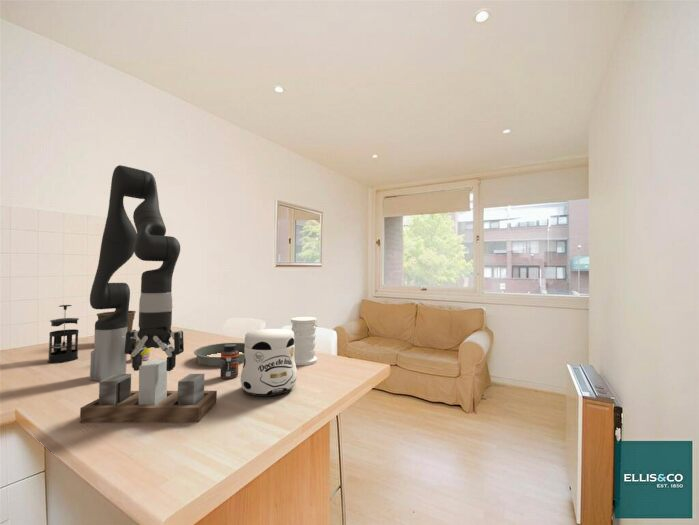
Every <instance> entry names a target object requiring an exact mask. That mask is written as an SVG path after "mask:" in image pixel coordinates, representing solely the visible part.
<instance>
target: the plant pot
mask: <svg viewBox="0 0 699 525" xmlns="http://www.w3.org/2000/svg"><path fill="white" fill-rule="evenodd" d="M114 311H115V310H114ZM114 311H103V312H99V313H96V316H97V320H99V319H102V318H105V317H107V316H109V315H111V314H112V313H113V312H114ZM136 313H137V311H136V310H129V312H128V323H127V332H129V331H132V330H133V326H134V325H133V324H134V320H135V315H136Z"/></svg>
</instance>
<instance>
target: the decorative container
mask: <svg viewBox="0 0 699 525" xmlns="http://www.w3.org/2000/svg"><path fill="white" fill-rule="evenodd" d="M317 322H318V319H317V317H315V316H314V317H313V316H297V317H296V316H295V317H291V318H290V323H292V326H291V331H293V332H294V345H295V348H294V360H295V364H296V366H298V365H306V366H310V365H309V364H312V365H314V364H313V363H315V362H316V363H317V362H318V357H317V356H316V355H315V354H316V344H317V342H316V337H317V336H316V331H317V330H316V329H317V328H316V327H317V326H316V323H317ZM316 363H315V364H316Z"/></svg>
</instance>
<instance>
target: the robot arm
mask: <svg viewBox="0 0 699 525" xmlns="http://www.w3.org/2000/svg"><path fill="white" fill-rule="evenodd" d="M110 182H111V183H110V192H109V200H108V201H109V203H108V209H107V215H106V220H105V224H104V229H103V233H102V236H101V237H102V239H101V243H100V250H99V257H98V264H97V267H96V268H97V269H96V272H95V275H94V279H93V283H92V287H91V290H90V293H89V294H90V295H89V303H90V307H91V308H92V309H94V310H114V312H113V311H112V312H113V313H112V314H111V315H109V316H107V317H105V318H102V319H99V320H98V319H97V320H96V321H95V323H94V344H93V350H92V351H91V352H90V363H89V364H90V367H89V368H90V370H89V379H90V380H93V381H96V382H99V381H102V380H104V379H106V378H108V377H110V376H113V375H115V374H127V355H129V356H130V357H131V356H132V361H131V362H132V363H131V368H132V369H133V371H134V372H136V371H137V372H139V366H141V365H143V361H142V355H141V353H142V352H143V351H144V349H145V348H150V349H151V348H154V349H161V351H163V352H164V353H165V355H167V357H166V360H167V368H166V370H167V372H171V371H172V370H174V369H175V368H176V366H177V365H176V361H177V358H176V357H177V356H179V355H180V354H182V353H184V350H185V349H184V348H185V346H184V331H183V330H179V331H172V325H173V324H172V320H173V319H172V318H173V296H172V295H173V294H172V286H173V276H174V275H173V274H174V271H175V267H176V264H177V262H178V260H179V259H178V258H179V257H180V253H181V243H180V242H179V240H178V239H177V238H176V237H174V236H170V235H166V232H167V229H166V228H167V227H166V225H165V223H164V219H163V217H162V215H161V211H160V202H159V194H158V188H157V187H158V186H157V181H156V178H155V177H154V175H153V173H151V172H149V171H147V170H143V169H138V168H134V167H131V166H126V165H121V164H119V165H117V166H116V167H114V170H113V172H112V175H111V181H110ZM125 197H127V198H132V199H138V200H143V201H142V202H140V203H139V204H138V205H137V206H136V207H135V209H134V210H133V211H134V212H133V214H132V218H133V223H134V224H133V223H132V221H131V220H130V218H129V215H128V214H127V212H126V209H125V204H124V198H125ZM133 255H135V256H136V258H138V260H141V261H144V262H145V261H146V262H162V264H161V265H160V266H159V268H156V269H150V270H145V271H143V272H142V273H141V278H140V282H141V283H140V297H139V303H138V304H139V305H138V329H139V331H136V329H132V331H129V332H127V323H128V312H129V311H130V310H129V309H130V299H131V289H130V286H129V284H128V283H127V282H110V280H111V278H112V277H113V276H114V274H115V273H116V272H117V271H118V270H119V269H120V268H122V266H123V265H125V264H126V263H127V262H128V261H129V260H130V259H131V258H132V257H133ZM137 337H139V339H140V340H141V341H140V342H139V344H138V345H137V346H136V338H137ZM171 338H172V340H173V343H172V341H171V340H170V339H171ZM135 346H136V348H135Z"/></svg>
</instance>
